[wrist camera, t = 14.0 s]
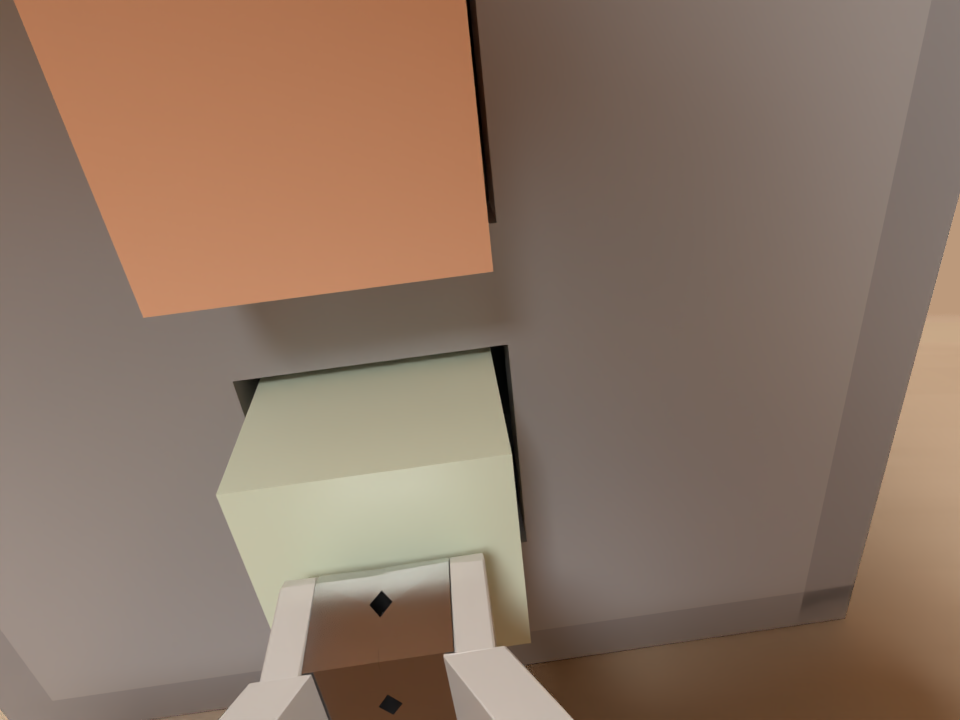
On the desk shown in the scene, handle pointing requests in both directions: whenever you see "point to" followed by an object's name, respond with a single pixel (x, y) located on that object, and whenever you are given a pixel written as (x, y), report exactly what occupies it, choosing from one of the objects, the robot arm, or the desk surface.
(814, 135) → the box
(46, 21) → the key upper
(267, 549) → the key lower
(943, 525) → the desk surface
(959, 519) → the desk surface
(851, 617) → the desk surface
